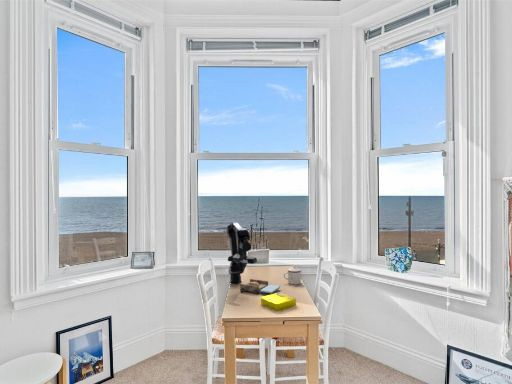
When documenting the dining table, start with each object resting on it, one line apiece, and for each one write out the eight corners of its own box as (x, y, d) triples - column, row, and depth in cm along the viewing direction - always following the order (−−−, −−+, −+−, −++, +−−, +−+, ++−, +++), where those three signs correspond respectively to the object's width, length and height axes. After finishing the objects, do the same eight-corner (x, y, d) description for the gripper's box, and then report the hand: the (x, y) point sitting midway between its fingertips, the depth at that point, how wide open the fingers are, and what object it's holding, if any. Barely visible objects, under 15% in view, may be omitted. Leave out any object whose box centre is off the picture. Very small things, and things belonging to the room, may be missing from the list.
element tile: (259, 304, 180) (259, 296, 180) (279, 299, 189) (279, 291, 189) (277, 312, 168) (277, 303, 168) (297, 306, 177) (297, 297, 177)
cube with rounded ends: (247, 287, 203) (247, 282, 203) (250, 286, 206) (250, 281, 206) (258, 288, 200) (257, 283, 200) (260, 287, 203) (260, 282, 203)
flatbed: (239, 291, 203) (239, 284, 203) (251, 285, 217) (251, 278, 217) (259, 294, 196) (259, 287, 196) (270, 287, 211) (270, 280, 211)
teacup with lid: (299, 280, 227) (299, 264, 227) (302, 284, 218) (302, 267, 218) (282, 281, 226) (282, 264, 226) (284, 285, 217) (284, 267, 217)
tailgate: (260, 290, 197) (271, 291, 194) (269, 284, 210) (280, 285, 206) (260, 291, 197) (271, 293, 194) (269, 286, 210) (280, 287, 206)
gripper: (223, 249, 204) (223, 274, 204) (249, 251, 196) (249, 277, 196) (232, 246, 214) (232, 270, 214) (257, 248, 206) (257, 273, 206)
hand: (242, 272), depth 207 cm, fingers closed
